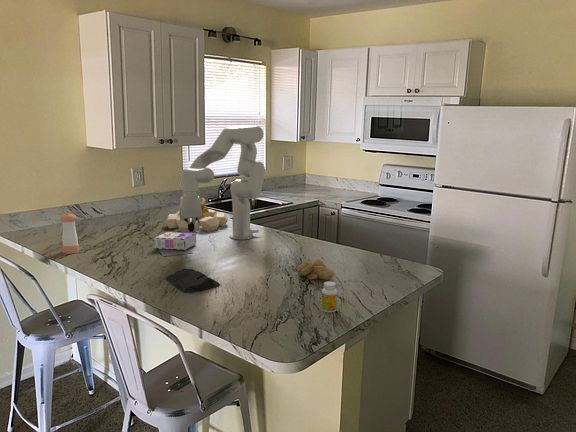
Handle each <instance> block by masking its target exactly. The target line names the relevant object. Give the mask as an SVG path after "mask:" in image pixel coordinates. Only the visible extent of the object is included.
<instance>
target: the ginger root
mask: <svg viewBox="0 0 576 432" xmlns="http://www.w3.org/2000/svg"><path fill="white" fill-rule="evenodd" d="M293 269H294V270H295V271H297V272H298V275H299V276H306V277H307V279H308V280H311V281H312V280H317V279H318V280H322V281H329V280H330V279H333V278H334V276H335V272H334V271H333V269H331V270H330V268H328V267H327V265H326V264H325V263H323V261H322V260H321V259H320V258H317V259H314V260H312V262H310V261H304V262H302V263H301V264H299V266H294V267H293Z"/></svg>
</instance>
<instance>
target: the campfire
mask: <svg viewBox="0 0 576 432" xmlns="http://www.w3.org/2000/svg"><path fill="white" fill-rule="evenodd" d="M200 201H201V209H202V215H201V216H202V219H199V220H197V221H196V222H195V229H194V232H190V231H189V230H188V223H187V222H186V221H182V220H180V210H177V212H176V213H169V214H168V215H167V217H166V219H165V221H164V223H165V224H166V227H167V228H168V229H177V228H178V229H179V230H180V233H196V232H198V231H199V224H200V227H201V229H202V231H203V232H208V233H209V232H213V231H217V230H218V228H220V227H221V228H223V227H224V228H225V227H226V225H227V224H228V220H229V219H228V217H227V215H226V213H225V212H216V210H214V209H210V208H208V207H205V205H206V198H204V197H201V198H200ZM190 222H192V218H190Z"/></svg>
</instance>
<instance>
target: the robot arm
mask: <svg viewBox="0 0 576 432" xmlns="http://www.w3.org/2000/svg"><path fill="white" fill-rule="evenodd" d="M263 138H264V129H263V128H262V127H261V126H258V125H248V124H246V125H244V124H242V125H238V126H227V127H225V128H224V129H222V131H221V132H220V134H218V136H217V138H216V139H215V141H214V142H213V144H212V145H211V147H210V148H208V149H206V150H205V151H204V152H202V153H201V154H199V155H198V156H197V157H196V158H195V159H194V161H193V162H192V164H191V165H190V167H189V168H183V169H182V170H181V182H182V183H181V187H182V188H181V189H182V191H181V192H182V194H181V195H182V196H180V199H179V211H180V220H182V221H186V222H187V223H188V230H189V231H190V232H193V233H195V232H194V229H195V222H196V221H198V220H199V219H202V216H201V215H202V209H201V201H200V199H201V198H200V196H199V195H202V191H200V190H199V184H209V183H211V182H212V181H213V180H214V179H215V173H214V171H213V169H211V168H209V167H208V166H209V165H211V164H213V163H215V162H219V161H221V160H223V159H225V158H226V156H227V155H228V154H229V152H230V150H231V149H232V148H233V146H234V145H239V146H240V149H241V150H240V156H239V160H238V164H237V169H236V170H237V174H238V175H239V176H240V177H243V179H242V178H237V179H235V180H233V181H232V182H231V184H230V188H229V189H230V195H231V200H232V201H231V202H232V204H231V205H232V206H231V207H232V233H230V234H229V237H230V239H233V240H240V241H241V240H242V241H243V240H249V239H250V240H251V239H252V238H253V237H254V234H255V233H256V234H258V233H260V232H259V231H260V230H259V229H258V228H257V229H256V228H251V202H250V200H255V199H258V197H259V196H260V195H261V191H262V188H263V183H264V179H265V176H266V175H265V174H266V167H265V165H264V163H263V162H261V161H259V160H256V159H257V154H258V149H257V145H256V144H257V143H259V142H261V141H262V140H263ZM244 178H248V179H244ZM190 218H192V222H190Z"/></svg>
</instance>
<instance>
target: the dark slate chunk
mask: <svg viewBox="0 0 576 432" xmlns="http://www.w3.org/2000/svg"><path fill="white" fill-rule="evenodd" d="M165 280H166V281H167V282H168V283H170V284H171V285H172V286H174V287H175V288H177V290H179V291H181V292H182V293H184V294H195V293H197V292H204V291H208V290H211V289H214V288H216V287H219V286H220V285H221V284H220V283H219V282H218V281H217V280H215V279H213V278H211V277H208V276H207V275H206V274H204V273H202V272H201V271H198V270H196V269H193V268H182V269H179V270H177V271H175V272H174V273H171V274H170V275H168V276H166V277H165Z"/></svg>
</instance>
